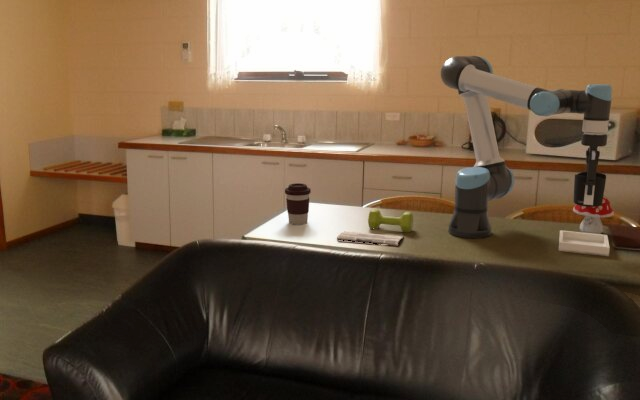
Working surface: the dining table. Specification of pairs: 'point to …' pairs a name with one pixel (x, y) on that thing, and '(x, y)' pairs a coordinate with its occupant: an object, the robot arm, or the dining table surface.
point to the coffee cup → (297, 203)
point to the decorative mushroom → (594, 216)
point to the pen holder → (580, 189)
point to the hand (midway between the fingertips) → (587, 201)
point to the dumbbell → (390, 220)
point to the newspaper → (369, 238)
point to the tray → (584, 243)
